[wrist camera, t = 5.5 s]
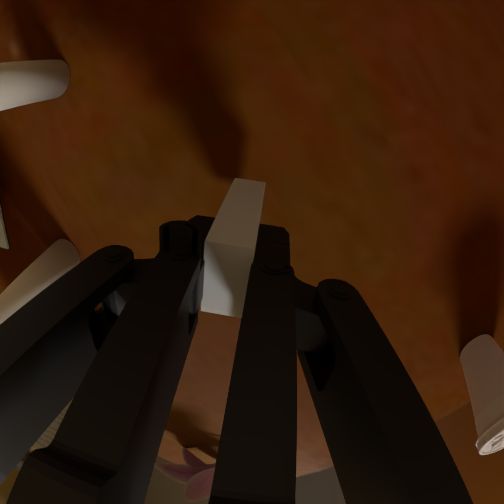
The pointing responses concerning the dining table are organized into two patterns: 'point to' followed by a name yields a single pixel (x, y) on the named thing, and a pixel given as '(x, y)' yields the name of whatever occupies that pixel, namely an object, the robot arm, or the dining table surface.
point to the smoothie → (486, 390)
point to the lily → (191, 476)
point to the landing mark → (3, 233)
